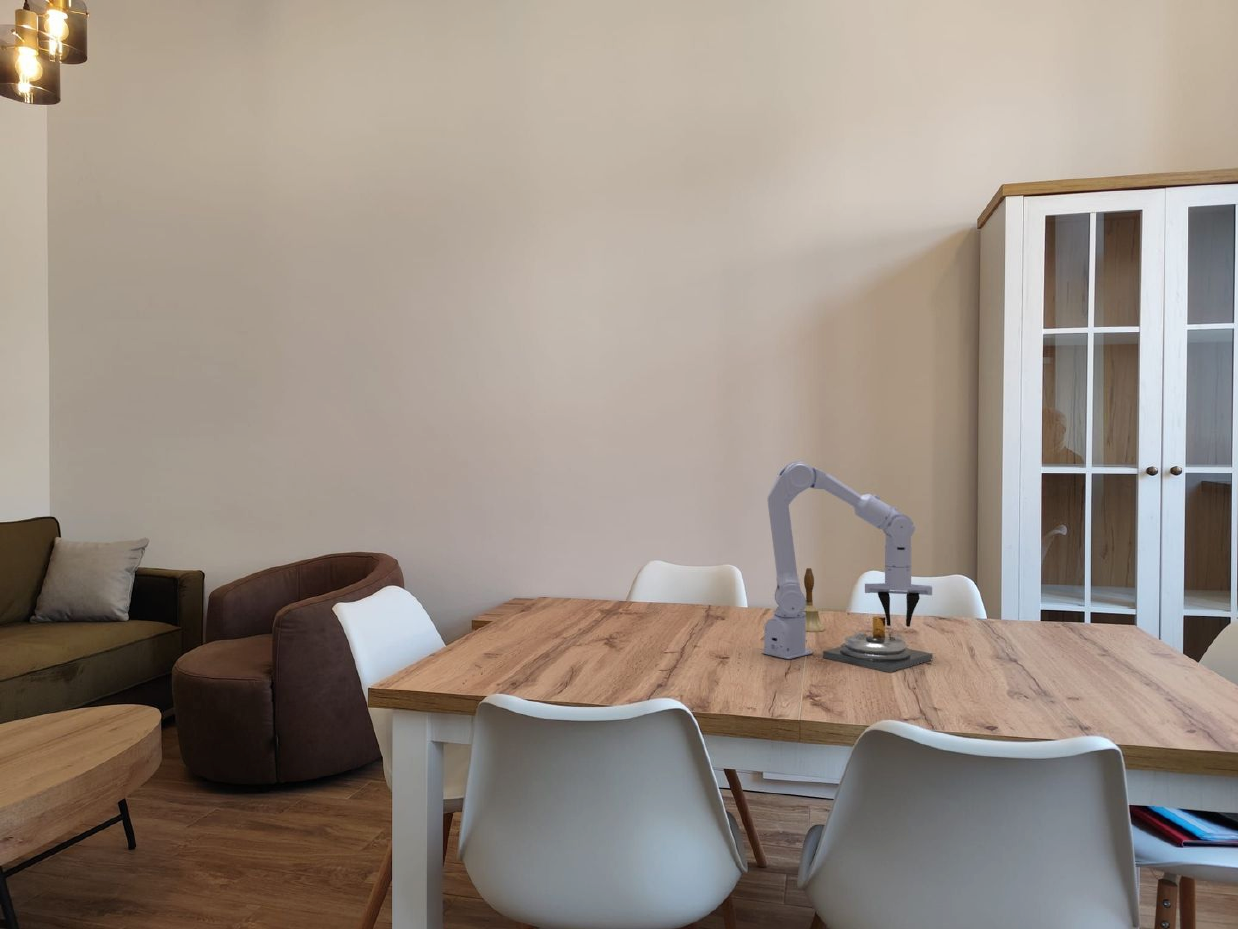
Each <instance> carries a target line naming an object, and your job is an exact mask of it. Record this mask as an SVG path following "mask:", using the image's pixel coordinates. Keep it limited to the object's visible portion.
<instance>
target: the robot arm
mask: <svg viewBox="0 0 1238 929" xmlns="http://www.w3.org/2000/svg"><path fill="white" fill-rule="evenodd" d="M809 488H810V489H814V490H824V491H826V492H828V493H830V494H831V495H833V496H835V497H836V498H838V499H840V500H842V501H843V502H845V503H846V504H848V505H850V506H852V507H853V509H854V513H855V515H856V516H857V517H859V518H861V520H864V521H865V522H867V523H868V524H871V525H872V526H873V527H875V528H876V529H878V530H882V531H883V533H884V534H885V545H884V583H881V582H880V583H864V593H865V594H872V593H873V594H877V596H878V599H879V600H880V603H881V605H882V609H883V611H884V615H885V622H886V626H887V627H891V612H890V611H891V597H890V595H891V594H897V595H898V594H900V595H902V594H903V595H905V596H906V614H905V615H906V616H905V617H906V618H905V626H906V627H909V628H910V627H911V622H912V617H913V615H914V612H915V609H916V607H917V604H918V603H919V600H920V595H922V596H923V595H925V596H926V595H927V596H933V586H932V585H923V584H922V585H921V584H914V583H913V584H912V536H913V534H914V532H915V530H916V527H915V525H914V522H913V521H912V519H911V518H910V516H908V515H906V514H903V513H901V512H899V508H897V507H896V506H893V507H892V506H890V505H889V504H887V503H886V502H884V501H882V500H880V499H881V497H880V496H879V495H877V494H871V493H866V494H862V495H861V494H860V493H858V492H857V491H855V489H852V488H851V487H849V486H847V485H846V484H844V483H843V482H841V480H839V479H837V478H835V477H834V476H832V475H831V474H830V473H828V472H826V471H823V470H821V469H819V468H816V467H812V466H810V465H809V464H808V463H805V462H799V461H793V462H790V463H788V464H787V465H786V466H785V467H784V468H783V469H781V470H780V471H779V473H778V474H777V477H776V480H775V482H773V485H772V488H770V491H769V493H768V496H767V507H768V516H769V522H770V531H771V538H772V539H771V540H772V546H773V547H772V548H773V555H774V562H775V569H776V570H775V571H776V589H775V591H774V602H775V603H776V604H777V607H776V608H775V610H774V611H773V616H772V617H771V618H770V619H767V621H766V622H765V624H764V634H763V635H764V636H763V637H764V638H763V640H764V644H763V645H764V646H763V648H764V650H761V654H765V655H769V656H772V657H773V656H774V657H776V658H777V657H778V658H781V659H785V660H786V659H787V660H791V659H794V658H798V657H803V656H807V655H811V654H814V650H810V649H806V644H807V643H806V641H807V640H806V634H807V632H806V613H805V612H803V611H804V609H805V607H806V595H804V593H803V591H802V590H801V584H800V579H799V575H798V569H797V563H796V562H797V561H796V554H795V546H794V537H793V530H792V520H791V514H790V507H789V506H790V505H791V503H792V502H793V501H794V499H795V498H797V496H798V495H800V493H803V492H804V491H806V490H808V489H809Z"/></svg>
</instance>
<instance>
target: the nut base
mask: <svg viewBox="0 0 1238 929" xmlns="http://www.w3.org/2000/svg"><path fill="white" fill-rule="evenodd" d="M822 654H823V655H822V658H823V659H827V660H832V661H836V662H841V663H845V662H847V663H846V664H849V663H851V664H850V665H853V664H855V666H858V667H862V668H863V667H864V668H867V669H871V670H876V669H877V671H880V670H881V671H880V672H884V671H885V672H884V673H889V672H890V673H889V674H891V673H893V671H895V672H897V671H896V670H898V671H900V670H899V669H901V670H905V669H907V667H908V668H911V667H914V666H913V665H915V666H917V665H916V664H918V663H921V662H925V663H927V662H926V661H928V662H930V661H929V660H931V659H932V660H933V653H931V652H926V651H921V650H916V649H911V648H908V647H906V650H905V651H904V652H901V653H896V654H872V653H864V652H858V651H854V650H851V649H848V648H847V647H845V642H844V643H842V644H840V646H838V647H833V648H830V649H826V650H823V651H822ZM921 664H922V663H921ZM918 665H919V664H918ZM910 666H911V667H910ZM904 668H905V669H904Z"/></svg>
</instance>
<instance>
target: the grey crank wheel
mask: <svg viewBox="0 0 1238 929" xmlns="http://www.w3.org/2000/svg"><path fill="white" fill-rule="evenodd" d="M844 643H845V647H847V648H848V649H851V650H854V651H858V652H864V653H872V654H896V653H901V652H904V651H905V650H906V648H907V646H906V644H907V643H906V641H904V639H903V637H902V636H899V635H889V636H888V635H886V616H872V634H867V633H865V632H862V631H861V632H854V635H850V636H847V637H845V638H844Z"/></svg>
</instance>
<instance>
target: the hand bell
mask: <svg viewBox="0 0 1238 929" xmlns="http://www.w3.org/2000/svg"><path fill="white" fill-rule="evenodd" d="M803 583H804V584H803V585H804V589H805V594H806V595H805V598H806V607H805V609H804V611H803V612H805V613H806V633H820V632H824V631H826V627H825V626H824V625H823V623H822V621H821V619H820V614H819V609H818V608H817V607H816V606H814V603H813V590H814V586H815V577H814V574H813V570H812V568H808V567H807V568H806V569H805V573H804V577H803Z"/></svg>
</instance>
